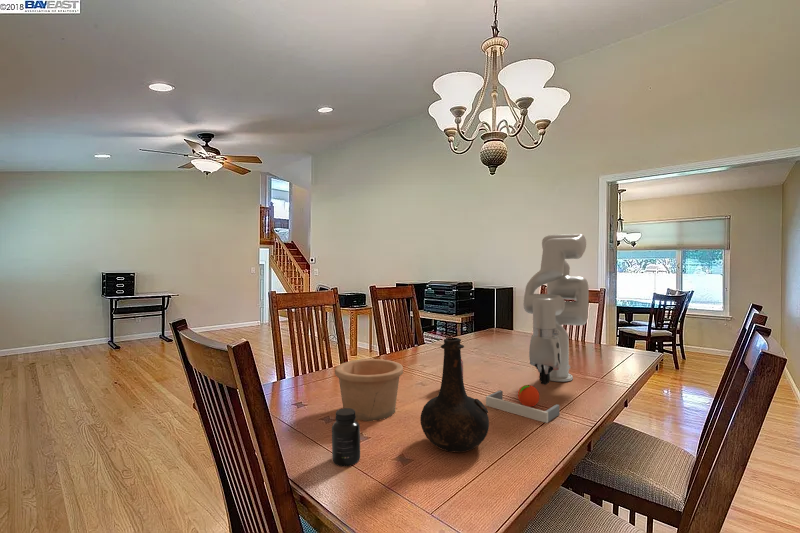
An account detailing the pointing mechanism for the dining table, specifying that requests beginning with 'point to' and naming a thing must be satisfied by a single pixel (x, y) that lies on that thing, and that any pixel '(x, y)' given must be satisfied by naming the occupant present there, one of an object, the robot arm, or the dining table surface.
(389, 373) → the pottery
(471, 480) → the dining table surface
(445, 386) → the glass bottle
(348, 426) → the supplement bottle
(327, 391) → the dining table surface
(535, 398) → the clementine
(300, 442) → the dining table surface
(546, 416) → the grey u-shaped bracket
